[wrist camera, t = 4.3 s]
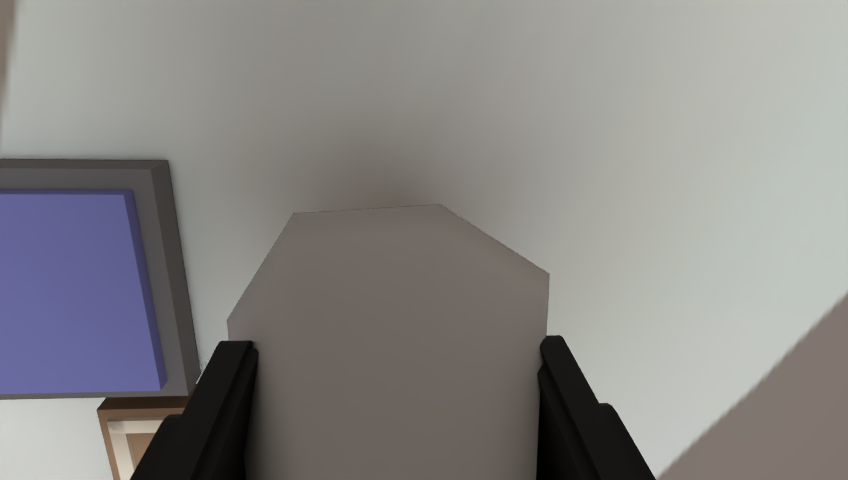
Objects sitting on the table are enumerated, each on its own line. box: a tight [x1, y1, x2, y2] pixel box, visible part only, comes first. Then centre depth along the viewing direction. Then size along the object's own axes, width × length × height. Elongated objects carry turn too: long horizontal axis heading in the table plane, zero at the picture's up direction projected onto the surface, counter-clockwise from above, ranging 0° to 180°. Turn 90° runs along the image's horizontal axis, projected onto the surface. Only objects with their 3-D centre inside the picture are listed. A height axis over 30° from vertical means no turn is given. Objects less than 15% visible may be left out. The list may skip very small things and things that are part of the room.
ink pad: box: [0, 159, 200, 400], centre depth 19 cm, size 9×9×2 cm
